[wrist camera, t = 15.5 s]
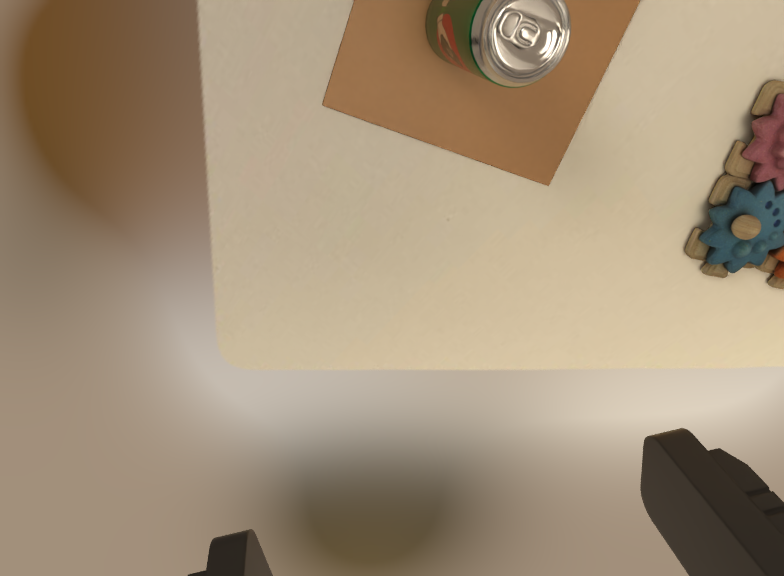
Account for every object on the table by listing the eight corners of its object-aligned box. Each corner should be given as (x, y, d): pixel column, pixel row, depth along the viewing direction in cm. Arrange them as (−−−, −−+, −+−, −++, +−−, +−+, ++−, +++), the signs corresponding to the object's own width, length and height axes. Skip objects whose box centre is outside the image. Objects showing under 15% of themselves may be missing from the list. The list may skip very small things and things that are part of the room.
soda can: (475, 77, 39) (543, 108, 28) (410, 44, 37) (456, 63, 27) (512, 1, 37) (599, 5, 26) (445, -37, 35) (509, -50, 25)
